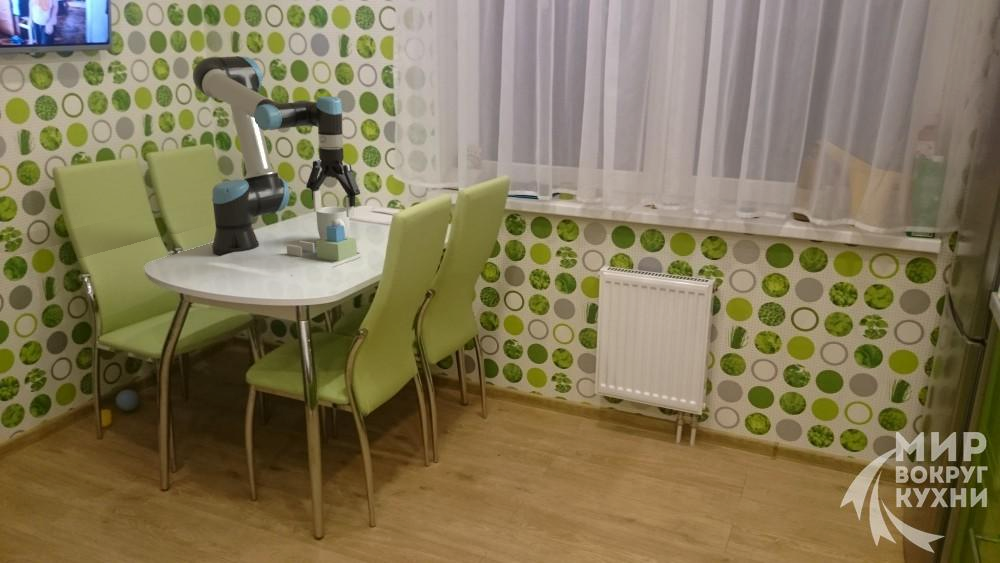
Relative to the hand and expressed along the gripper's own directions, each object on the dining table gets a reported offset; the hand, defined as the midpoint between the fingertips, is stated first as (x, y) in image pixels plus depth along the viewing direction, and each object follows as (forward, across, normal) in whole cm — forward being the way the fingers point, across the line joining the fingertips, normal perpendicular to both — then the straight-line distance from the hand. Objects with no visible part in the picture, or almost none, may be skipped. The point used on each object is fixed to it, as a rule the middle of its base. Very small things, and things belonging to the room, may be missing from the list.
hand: (333, 213), depth 260 cm
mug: (+16, -11, +13) cm, 23 cm away
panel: (+16, -5, 0) cm, 17 cm away
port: (+14, +1, 0) cm, 14 cm away
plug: (+14, +1, 0) cm, 14 cm away
